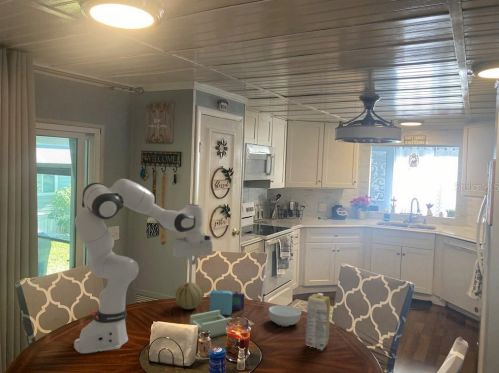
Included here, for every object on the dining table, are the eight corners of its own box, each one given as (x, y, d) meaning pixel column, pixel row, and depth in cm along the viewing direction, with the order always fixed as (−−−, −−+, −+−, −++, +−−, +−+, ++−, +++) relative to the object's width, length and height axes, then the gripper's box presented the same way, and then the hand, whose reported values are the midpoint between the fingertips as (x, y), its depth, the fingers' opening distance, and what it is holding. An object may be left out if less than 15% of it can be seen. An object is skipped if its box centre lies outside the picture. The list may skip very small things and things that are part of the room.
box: (202, 339, 183) (202, 324, 183) (189, 329, 194) (190, 315, 194) (231, 332, 192) (232, 318, 192) (218, 323, 203) (218, 309, 203)
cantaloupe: (202, 304, 231) (203, 278, 230) (201, 313, 216) (201, 286, 215) (176, 303, 230) (177, 278, 229) (173, 312, 215) (174, 285, 214)
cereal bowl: (306, 328, 202) (307, 314, 201) (276, 331, 196) (277, 317, 195) (290, 316, 217) (291, 303, 217) (263, 319, 211) (263, 306, 211)
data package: (231, 312, 219) (232, 290, 219) (231, 315, 215) (232, 293, 214) (209, 311, 219) (210, 290, 219) (209, 314, 215) (209, 292, 214)
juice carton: (329, 345, 182) (331, 294, 181) (323, 352, 175) (326, 298, 174) (310, 340, 187) (312, 290, 186) (303, 346, 180) (306, 294, 179)
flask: (227, 309, 224) (228, 290, 223) (227, 307, 226) (228, 289, 226) (243, 310, 224) (244, 291, 223) (243, 308, 227) (244, 289, 226)
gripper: (176, 239, 188) (175, 268, 188) (214, 236, 199) (213, 263, 200) (171, 237, 193) (170, 265, 193) (208, 234, 204) (207, 261, 205)
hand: (192, 264), depth 197 cm, fingers closed
